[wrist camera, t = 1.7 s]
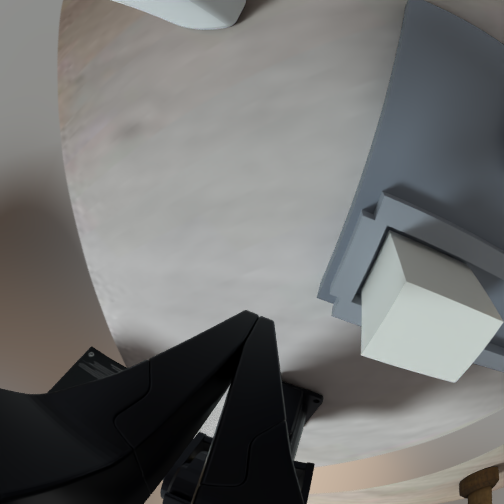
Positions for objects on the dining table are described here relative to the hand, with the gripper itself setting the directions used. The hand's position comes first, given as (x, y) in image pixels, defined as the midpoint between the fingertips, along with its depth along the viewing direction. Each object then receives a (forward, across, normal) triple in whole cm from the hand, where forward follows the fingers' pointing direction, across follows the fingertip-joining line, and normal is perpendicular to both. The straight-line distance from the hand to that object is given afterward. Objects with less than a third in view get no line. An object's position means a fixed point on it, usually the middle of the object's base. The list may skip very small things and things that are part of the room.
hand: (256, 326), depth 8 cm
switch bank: (+9, -14, -5) cm, 17 cm away
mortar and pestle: (+9, -39, +25) cm, 47 cm away
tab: (+7, -6, 0) cm, 10 cm away
